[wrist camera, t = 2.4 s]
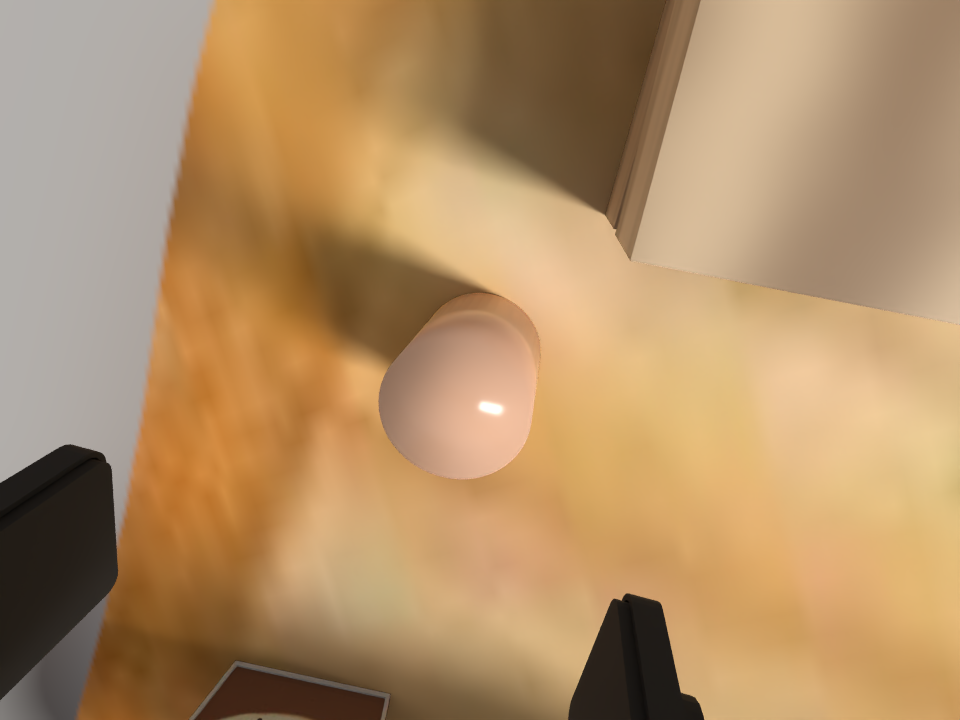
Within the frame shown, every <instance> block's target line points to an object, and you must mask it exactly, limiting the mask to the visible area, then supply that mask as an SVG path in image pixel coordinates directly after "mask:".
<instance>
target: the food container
mask: <svg viewBox="0 0 960 720" xmlns="http://www.w3.org/2000/svg"><path fill="white" fill-rule="evenodd" d="M390 695H391V694H388V693H384V692H379V691H374V690H370V689H365V688H360V687H356V686H351V685H347V684H342V683H337V682H333V681H328V680H324V679H319V678H314V677H310V676H305V675H300V674H296V673H291V672H287V671H282V670H277V669H273V668H268V667H264V666H259V665H254V664H250V663H245V662H240V661H235V662H234V663H233V664H232V666H231V667H230V668H229V669H228V671H227V672H226V673H225V674H224V676H223V677H222V678H221V679H220V681H219V682H218V683H217V685H216V686H215V687H214V688H213V690H212V691H211V692H210V693H209V695H208V696H207V697H206V698H205V700H204V701H203V702H202V703H201V705H200V706H199V707H198V708H197V710H196V711H195V712H194V713H193V715H192V716H191V717H190V718H189V720H386V716H387V711H388V707H389V701H390Z"/></svg>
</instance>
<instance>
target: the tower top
mask: <svg viewBox="0 0 960 720" xmlns="http://www.w3.org/2000/svg"><path fill="white" fill-rule="evenodd" d="M615 235H616V237H617V239H618V240H619V242H620V244H621V246H622V247H623V249H624V251H625V252H626V254H627V256H628V258H629V259H630V261H633V262H638V263H643V264H649V265H654V266H659V267H664V268H669V269H674V270H679V271H685V272H690V273H695V274H700V275H705V276H710V277H715V278H721V279H726V280H731V281H736V282H741V283H746V284H752V285H757V286H762V287H767V288H772V289H777V290H782V291H788V292H793V293H798V294H803V295H808V296H813V297H818V298H824V299H829V300H834V301H839V302H844V303H849V304H854V305H860V306H865V307H870V308H875V309H880V310H885V311H891V312H896V313H901V314H906V315H911V316H916V317H921V318H927V319H932V320H937V321H942V322H947V323H952V324H957V325H960V0H675V3H674V7H673V11H672V14H671V18H670V22H669V26H668V30H667V34H666V38H665V42H664V46H663V50H662V54H661V58H660V62H659V65H658V69H657V73H656V77H655V81H654V85H653V89H652V93H651V97H650V101H649V105H648V109H647V112H646V116H645V120H644V124H643V128H642V132H641V136H640V140H639V144H638V148H637V152H636V156H635V159H634V163H633V167H632V171H631V175H630V179H629V183H628V187H627V191H626V195H625V199H624V203H623V206H622V210H621V214H620V218H619V222H618V226H617V230H616V234H615Z"/></svg>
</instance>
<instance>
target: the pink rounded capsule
mask: <svg viewBox="0 0 960 720" xmlns="http://www.w3.org/2000/svg"><path fill="white" fill-rule="evenodd" d="M540 357H541V347H540V340H539V336H538V333H537V330H536V328H535V326H534V324H533V322H532V321H531V320H530V318H529V317H528V315H527V314H526V313H525V312H524V311H523V310H522V309H521V308H520V307H518V306H517V305H516V304H514V303H513V302H511V301H509V300H507V299H505V298H503V297H501V296H497V295H494V294H489V293H469V294H465V295H461V296H458V297H455V298H454V299H452V300H450V301H448V302H447V303H445V304H444V305H442V306H441V307H440V308H439V309H438V310H437V311H436V312H435V314H434V315H433V316H432V317H431V318H430V320H429V321H428V322H427V323H426V324H425V325H424V327H423V328H422V329H421V330H420V331H419V332H418V334H417V335H416V336H415V337H414V338H413V339H412V341H411V342H410V343H409V344H408V345H407V346H406V348H405V349H404V350H403V351H402V352H401V353H400V355H399V356H398V357H397V358H396V359H395V360H394V362H393V363H392V364H391V366H390V367H389V368H388V370H387V372H386V374H385V376H384V378H383V381H382V383H381V387H380V392H379V412H380V418H381V421H382V424H383V427H384V430H385V432H386V434H387V436H388V438H389V439H390V441H391V442H392V444H393V445H394V446H395V448H396V449H397V450H398V451H399V452H400V453H401V454H402V455H403V456H404V457H405V458H406V459H407V460H409V461H410V462H411V463H412V464H414V465H416V466H417V467H419V468H421V469H422V470H424V471H427V472H429V473H431V474H434V475H437V476H441V477H445V478H451V479H472V478H479V477H482V476H486V475H489V474H491V473H494V472H496V471H498V470H499V469H501V468H503V467H504V466H506V465H507V464H508V463H510V462H511V461H512V460H513V459H514V458H515V457H516V456H517V454H518V453H519V452H520V450H521V449H522V447H523V446H524V444H525V442H526V440H527V437H528V434H529V432H530V427H531V421H532V414H533V407H534V400H535V393H536V386H537V379H538V372H539V365H540Z"/></svg>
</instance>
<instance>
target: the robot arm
mask: <svg viewBox="0 0 960 720" xmlns="http://www.w3.org/2000/svg"><path fill="white" fill-rule="evenodd" d="M117 576H118V565H117V549H116V533H115V516H114V501H113V484H112V469H111V466H110V465H109V464H108V463H106V459H105V456H104V455H103V454H102V453H100V452H97V451H93V450H90V449H86V448H82V447H78V446H75V445H71V444H70V445H64V446H62V447H59V448H58V449H56V450H54V451H53V452H51V453H49V454H48V455H46V456H44V457H43V458H41V459H40V460H38V461H36V462H34V463H33V464H31V465H30V466H28V467H26V468H25V469H23V470H22V471H19V472H18V473H16V474H15V475H13V476H11V477H10V478H8V479H6V480H5V481H3V482H1V483H0V700H1V699H2V698H3V697H4V696H5V695H6V694H7V693H8V692H9V691H10V690H11V689H12V688H13V687H14V686H15V685H16V684H17V683H18V682H19V681H20V680H21V679H22V678H23V677H24V676H25V675H26V674H27V673H28V672H29V671H30V670H31V669H32V668H33V667H34V666H35V665H36V664H37V663H38V662H39V661H40V660H41V659H42V658H43V657H44V656H45V655H46V654H47V653H48V652H49V651H50V650H51V649H52V648H53V647H54V646H55V645H56V644H57V643H59V641H60V640H62V638H64V637H65V636H66V635H67V634H68V633H69V632H70V630H72V628H74V627H75V626H76V625H77V623H79V622H80V621H81V620H82V619H83V618H84V617H85V616H86V615H87V614H88V613H89V612H90V611H91V610H92V609H93V608H94V607H95V606H96V605H97V604H98V603H99V602H100V601H101V600H102V599H103V598H104V597H105V596H106V595H107V594H108V593H109V592H110V590H111V589H112V587H113V586H114V584H115V582H116V579H117ZM568 720H704V716H703V713H702V710H701V707H700V704H699V703H698V701H697V700H696V698H695V697H693V696H690V695H687V694H683V693H681V692H680V687H679V683H678V678H677V673H676V669H675V664H674V659H673V655H672V650H671V645H670V641H669V636H668V632H667V627H666V622H665V618H664V613H663V609H662V606H661V604H660V603H659V602H658V601H654V600H651V599H647V598H643V597H640V596H636V595H632V594H625V595H624V597H623V599H622V601H621V600H617V599H613V600H612V601H611V603H610V606H609V608H608V611H607V613H606V616H605V618H604V621H603V623H602V626H601V628H600V631H599V633H598V636H597V638H596V641H595V643H594V645H593V648H592V650H591V653H590V655H589V658H588V660H587V663H586V665H585V668H584V670H583V673H582V675H581V678H580V680H579V683H578V685H577V688H576V690H575V693H574V695H573V698H572V701H571V704H570V709H569V717H568Z"/></svg>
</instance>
